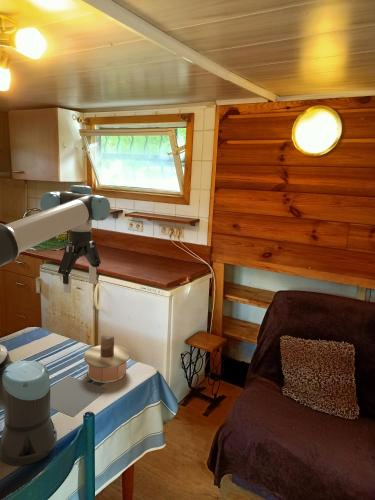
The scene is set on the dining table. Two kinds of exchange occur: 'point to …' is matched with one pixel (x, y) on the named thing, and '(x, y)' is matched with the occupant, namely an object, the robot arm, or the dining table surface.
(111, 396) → the dining table surface
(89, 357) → the lid
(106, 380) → the bowl
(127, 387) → the dining table surface
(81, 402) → the mat
